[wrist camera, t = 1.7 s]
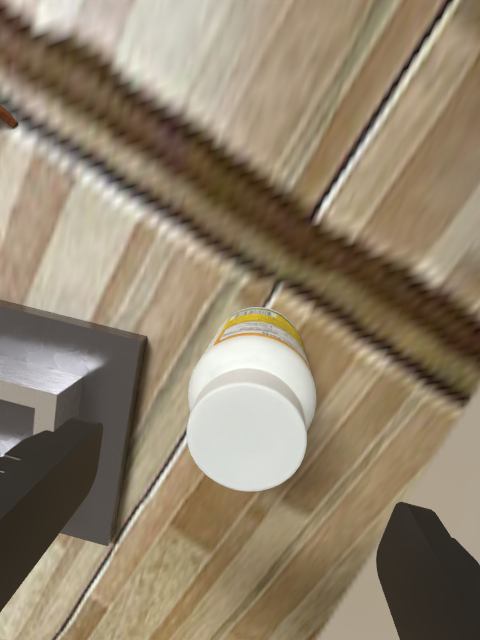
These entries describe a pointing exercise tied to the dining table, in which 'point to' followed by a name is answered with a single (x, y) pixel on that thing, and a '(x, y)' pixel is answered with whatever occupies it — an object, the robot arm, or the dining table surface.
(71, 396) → the mount
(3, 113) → the glasses
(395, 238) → the dining table surface
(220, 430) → the supplement bottle
